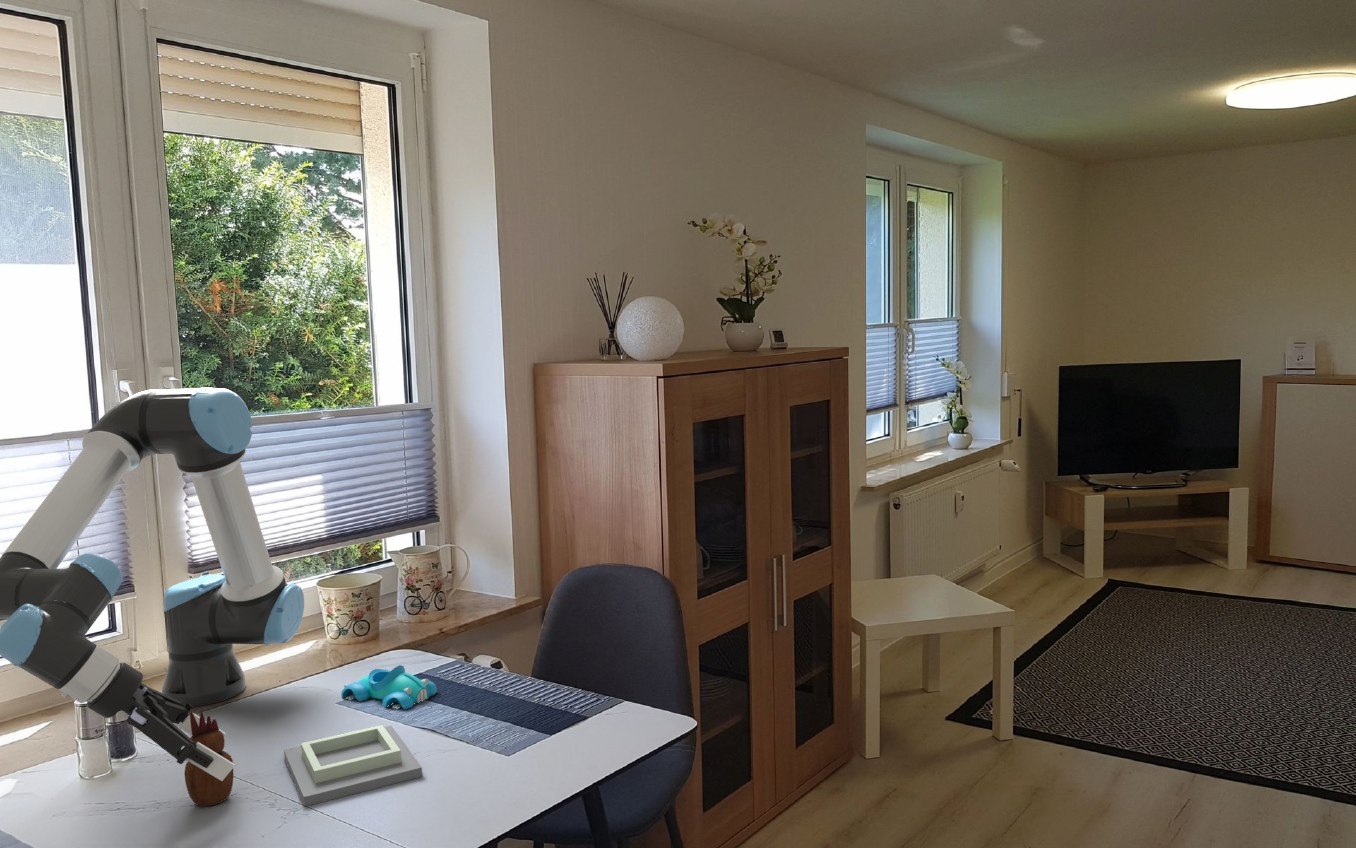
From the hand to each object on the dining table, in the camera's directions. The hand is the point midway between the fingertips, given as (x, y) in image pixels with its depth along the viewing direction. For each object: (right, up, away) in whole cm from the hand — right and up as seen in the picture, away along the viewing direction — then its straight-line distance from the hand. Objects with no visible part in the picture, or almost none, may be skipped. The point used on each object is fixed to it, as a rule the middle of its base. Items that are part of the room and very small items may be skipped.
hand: (223, 756), depth 156 cm
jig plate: (+17, -5, +10) cm, 20 cm away
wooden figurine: (-2, -7, 0) cm, 7 cm away
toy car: (+14, -2, +42) cm, 44 cm away
